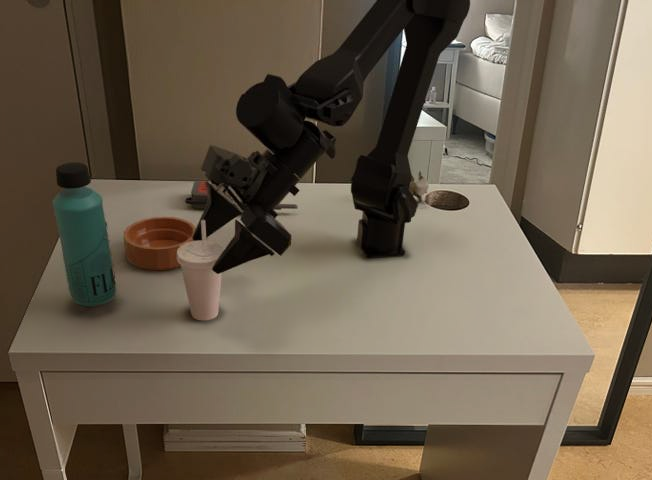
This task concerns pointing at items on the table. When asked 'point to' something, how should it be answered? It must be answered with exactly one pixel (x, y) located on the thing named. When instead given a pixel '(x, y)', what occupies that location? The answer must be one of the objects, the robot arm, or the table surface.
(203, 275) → the smoothie
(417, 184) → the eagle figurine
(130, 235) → the bowl
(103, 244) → the beverage bottle
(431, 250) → the table surface
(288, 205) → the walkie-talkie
